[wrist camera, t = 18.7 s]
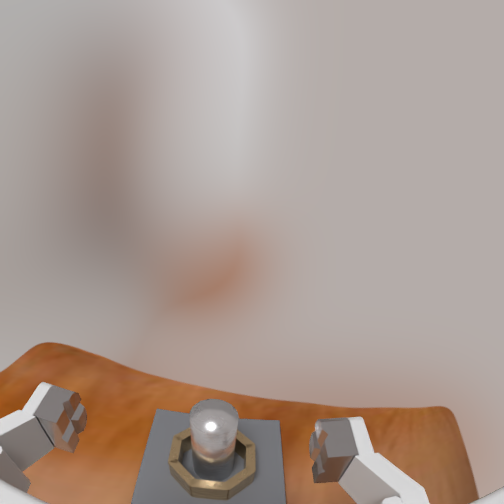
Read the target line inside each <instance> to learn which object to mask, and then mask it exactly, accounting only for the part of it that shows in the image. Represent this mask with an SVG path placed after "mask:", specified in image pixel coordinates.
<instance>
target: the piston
mask: <svg viewBox="0 0 504 504" xmlns="http://www.w3.org/2000/svg"><path fill="white" fill-rule="evenodd" d="M237 426H238V413H237V411H236V409H235V408H234V407H233V406H232V405H231V404H229V403H227V402H225V401H223V400H218V399H207V400H203V401H200V402H198V403H197V404H195V405H194V406H193V407H192V409H191V411H190V431H191V446H192V459H193V469H194V472H195V473H196V475H197V476H198V477H199V478H201V479H202V480H208V481H219V482H220V481H223V480H225V479H226V478H228V477H229V476H230V474H231V472H232V467H233V459H234V451H235V443H236V435H237Z"/></svg>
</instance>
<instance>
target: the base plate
mask: <svg viewBox="0 0 504 504" xmlns="http://www.w3.org/2000/svg"><path fill="white" fill-rule="evenodd" d="M189 427H190V414H189V413H181V412H174V411H168V410H162V409H157V410H156V414H155V417H154V421H153V424H152V428H151V431H150V435H149V438H148V442H147V445H146V449H145V452H144V456H143V460H142V463H141V467H140V471H139V475H138V478H137V482H136V486H135V490H134V494H133V498H132V502H131V504H286V498H285V485H284V472H283V459H282V447H281V435H280V423H279V420H253V419H238V426H237V430H239V431H240V432H241V433H242V434H243V435H245V436H246V437H247V438H248V439H250V440H251V441H252V442H253V443H255V467H256V471H255V475H254V479H253V482H252V483H251V484H250V485H249V486H247V487H246V488H245V489H243V490H242V491H240V492H239V493H238V494H236V495H235V496H233V497H232V498H231V499H229V500H227V501H225V500H214V499H204V498H196V497H192V496H190V495H189V494H188V493H187V492H186V491H185V490H184V488H183V487H182V486H181V485H180V484H179V483H178V482H177V481H176V480H175V479H174V478H173V477H172V475H171V473H170V469H169V464H168V459H169V454H170V450H171V445H172V440H173V436H174V435H176V434H178V433H180V432H182V431H184V430H186V429H187V428H189ZM182 466H183V467H184V468H185V469H186V470H187V471H188V472H189V473H190V474H191V475H192V476H193V477H194V478H195V479H200V480H202V479H201V478H199V477H198V476H197V475H196V473H195V472H194V469H193V459H192V449H190V450H188V451H187V452H185V453H183V458H182ZM243 469H244V459H243V458H242V457H241V456H239V455H238V454H237V453H236V452H235V451H234V459H233V467H232V472H231V474H230V476H229V477H228V478H226V479H225V480H223V481H220V482H226V481H227V480H229V479H230V478H231V477H233V476H234V475H236V474H237V473H239V472H240V471H242V470H243Z"/></svg>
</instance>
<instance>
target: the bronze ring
mask: <svg viewBox="0 0 504 504" xmlns="http://www.w3.org/2000/svg"><path fill="white" fill-rule="evenodd" d="M190 449H192V446H191V431H190V427H189V428H187V429H186V430H184V431H182V432H180V433H178V434H176V435H174V436H173V440H172V445H171V450H170V454H169V459H168V464H169V469H170V473H171V475H172V477H173V478H174V479H175V480H176V481H177V482H178V483H179V484H180V485H181V486H182V487H183V488H184V490H185V491H186V492H187V493H188V494H189V495H190V496H192V497H196V498H204V499H214V500H225V501H227V500H229V499H231V498H232V497H233V496H235V495H236V494H238V493H239V492H240V491H242V490H243V489H245V488H246V487H247V486H249V485H250V484H251V483H252V482H253V479H254V475H255V471H256V467H255V443H253V442H252V441H251V440H250V439H248V438H247V437H246V436H245V435H243V434H242V433H241V432H240V431H239V430H237V435H236V443H235V452H236V453H237V454H238V455H239V456H241V457H242V458H243V459H244V469H243V470H242V471H240V472H239V473H237V474H236V475H234V476H233V477H231V478H230V479H229V480H227V481H226V482H219V481H208V480H200V479H195V478H194V477H193V476H192V475H191V474H190V473H189V472H188V471H187V470H186V469H185V468H184V467H183V466H182V458H183V453H185V452H187V451H188V450H190Z"/></svg>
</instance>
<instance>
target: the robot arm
mask: <svg viewBox="0 0 504 504" xmlns="http://www.w3.org/2000/svg"><path fill="white" fill-rule="evenodd" d="M80 401H81V398H80V395H79V393H76V392H73V391H70V390H66V389H63V388H60V387H57V386H54V385H51V384H48V383H45V382H42V383H41V384H39V385H38V387H37V388H36V390H35V391H34V393H33V394H32V396H31V397H30V399H29V401H28V402H27V404H26V405H25V407H24V408H23V410H22V411H21V410H18V411H16V412H14V413H12V414H10V415H7V416H5V417H3V418H1V419H0V504H49V503H47V502H45V501H42V500H40V499H38V498H36V497H34V496H32V495H30V494H28V493H27V491H28V489H29V486H30V484H31V483H30V480H29V479H28V478H27V477H26V476H25V475H24V474H23V471H24V470H25V469H27V468H28V467H29V466H31V465H32V464H34V463H35V462H36V461H38V460H39V459H40V458H42V457H43V456H44V455H46V454H47V453H48V452H50V451H51V450H52V449H54V447H56V448H59V449H62V450H65V451H68V452H72V453H74V451H75V449H76V446H77V444H78V442H79V437H78V434H79V433H81V432H82V431H84V428H85V426H86V421H87V413H86V410H85V408H84V407H83V406H82V405H81V404H80ZM315 430H316V431H315V432H313V433H312V435H311V438H310V444H309V451H310V458H311V459H312V460H314V461H315V462H314V464H313V467H312V472H313V478H314V483H327V482H338V483H339V484H340V485H341V487H342V488H343V489H344V490H345V491H346V492H347V493H348V494H349V495H350V496H351V497H352V499H353V500H354V501H355V502H356V503H357V504H430V503H429V500H428V498H427V495H426V492H425V489H424V488H423V487H422V486H421V485H419V484H418V483H417V482H415V481H414V480H413V479H411V478H410V477H409V476H407V475H406V474H405V473H403V472H402V471H401V470H400V469H398V468H397V467H396V466H394V465H393V464H392V463H391V462H389V461H388V460H387V459H386V458H384V457H383V456H382V455H381V454H379V453H374V450H373V447H372V444H371V441H370V438H369V435H368V432H367V429H366V426H365V423H364V420H363V418H362V417H351V418H333V419H318V420H317V421H316V424H315ZM469 504H504V487H502V488H500V489H498V490H496V491H494V492H492V493H490V494H488V495H486V496H484V497H482V498H480V499H478V500H476V501H473V502H471V503H469Z"/></svg>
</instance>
